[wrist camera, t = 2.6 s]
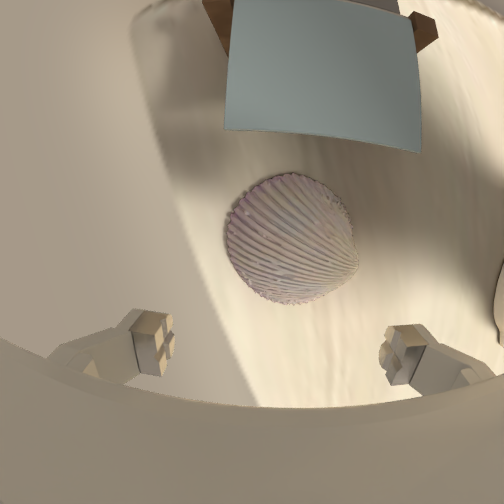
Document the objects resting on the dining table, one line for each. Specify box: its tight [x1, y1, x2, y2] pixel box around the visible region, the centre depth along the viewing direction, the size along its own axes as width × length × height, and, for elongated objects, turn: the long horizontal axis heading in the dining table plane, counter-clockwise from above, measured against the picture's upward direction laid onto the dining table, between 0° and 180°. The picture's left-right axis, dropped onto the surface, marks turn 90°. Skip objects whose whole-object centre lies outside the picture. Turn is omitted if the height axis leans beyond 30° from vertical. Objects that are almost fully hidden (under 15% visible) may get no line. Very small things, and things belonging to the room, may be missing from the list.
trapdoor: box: [224, 0, 422, 153], centre depth 12 cm, size 9×11×5 cm
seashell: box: [226, 173, 359, 305], centre depth 20 cm, size 10×6×10 cm
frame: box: [202, 0, 439, 58], centre depth 12 cm, size 13×4×8 cm, turn 87°
